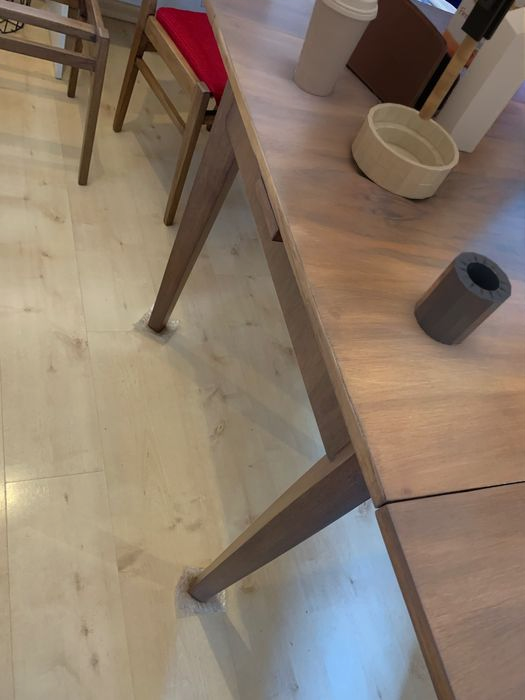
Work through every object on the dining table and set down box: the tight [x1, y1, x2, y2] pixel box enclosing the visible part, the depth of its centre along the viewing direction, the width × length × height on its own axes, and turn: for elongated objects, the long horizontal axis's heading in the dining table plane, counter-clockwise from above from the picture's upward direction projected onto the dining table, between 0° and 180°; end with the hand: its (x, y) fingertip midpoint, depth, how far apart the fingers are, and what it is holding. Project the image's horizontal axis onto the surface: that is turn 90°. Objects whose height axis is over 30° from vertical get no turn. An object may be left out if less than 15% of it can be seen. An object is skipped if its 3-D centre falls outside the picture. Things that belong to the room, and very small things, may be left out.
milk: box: [434, 7, 525, 154], centre depth 86 cm, size 6×6×22 cm
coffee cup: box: [293, 0, 378, 97], centre depth 85 cm, size 10×10×15 cm
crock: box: [414, 251, 512, 346], centre depth 64 cm, size 7×7×9 cm
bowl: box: [351, 103, 460, 200], centre depth 81 cm, size 14×14×6 cm
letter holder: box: [345, 0, 461, 117], centre depth 93 cm, size 10×20×14 cm, turn 36°
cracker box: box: [442, 0, 525, 68], centre depth 107 cm, size 14×6×21 cm, turn 55°
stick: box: [418, 34, 479, 121], centre depth 70 cm, size 2×2×18 cm
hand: (475, 33), depth 68 cm, fingers closed on stick, 2 cm apart
